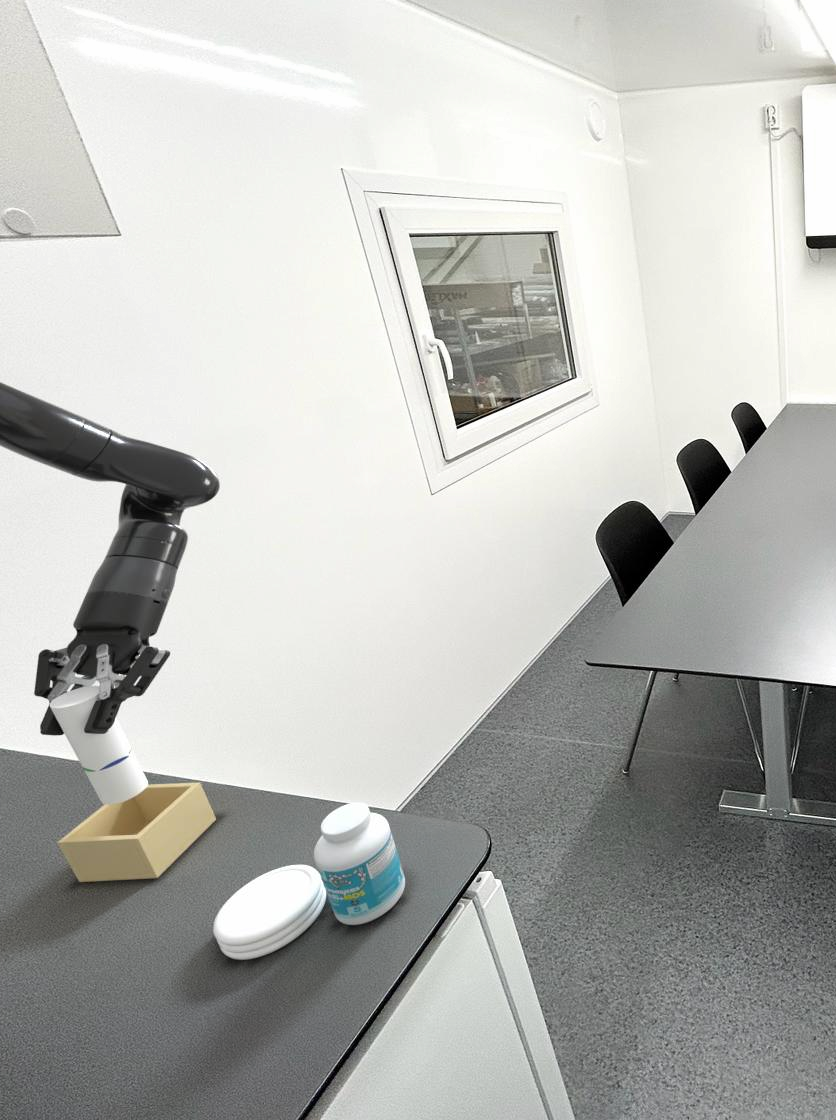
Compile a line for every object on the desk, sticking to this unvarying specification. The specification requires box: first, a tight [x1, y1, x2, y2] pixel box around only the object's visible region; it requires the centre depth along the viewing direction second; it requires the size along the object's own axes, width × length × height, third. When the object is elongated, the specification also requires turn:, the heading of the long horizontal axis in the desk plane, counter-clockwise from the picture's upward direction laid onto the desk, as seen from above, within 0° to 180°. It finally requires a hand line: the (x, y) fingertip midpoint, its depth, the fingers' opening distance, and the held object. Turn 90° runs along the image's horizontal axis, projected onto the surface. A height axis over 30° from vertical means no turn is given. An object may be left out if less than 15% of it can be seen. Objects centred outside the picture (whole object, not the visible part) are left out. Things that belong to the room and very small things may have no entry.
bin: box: [56, 782, 217, 883], centre depth 83 cm, size 9×9×7 cm
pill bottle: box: [313, 802, 406, 926], centre depth 75 cm, size 8×7×14 cm
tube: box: [50, 685, 149, 805], centre depth 78 cm, size 4×4×15 cm
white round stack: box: [212, 864, 327, 961], centre depth 74 cm, size 10×10×4 cm
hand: (73, 733), depth 75 cm, fingers closed on tube, 4 cm apart
